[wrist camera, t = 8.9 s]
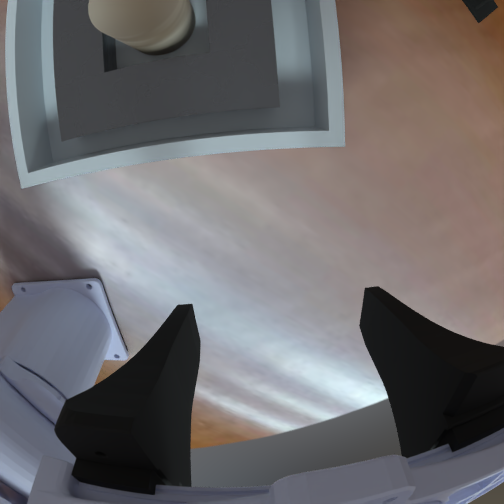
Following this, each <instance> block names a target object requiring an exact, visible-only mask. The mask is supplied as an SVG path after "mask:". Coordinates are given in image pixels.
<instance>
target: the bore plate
mask: <svg viewBox="0 0 504 504" xmlns="http://www.w3.org/2000/svg"><path fill="white" fill-rule="evenodd" d="M88 4H89V0H54V4H53V61H54V78H55V91H56V102H57V111H58V119H59V127H60V134H61V141H66V140H69V139H73V138H77V137H81V136H84V135H88V134H92V133H97V132H101V131H105V130H110V129H114V128H119V127H124V126H129V125H134V124H139V123H144V122H150V121H155V120H161V119H168V118H174V117H181V116H188V115H196V114H204V113H212V112H222V111H232V110H244V109H258V108H277V107H280V102H279V88H278V74H277V61H276V49H275V38H274V27H273V16H272V6H271V0H206V6H207V20H208V34H209V47H210V52H206V53H198V54H191V55H184V56H178V57H172V58H166V59H161V60H156V61H151V62H146V63H141V64H137V65H132V66H128V67H124V68H120V69H117V60H116V43H115V38H113V37H111V36H109V35H106V34H104V33H102V32H101V31H99V30H98V29H97V28H96V27H95V26H94V25H93V24H92V22H91V20H90V17H89V13H88Z"/></svg>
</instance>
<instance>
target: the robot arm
mask: <svg viewBox="0 0 504 504" xmlns="http://www.w3.org/2000/svg"><path fill="white" fill-rule="evenodd" d="M88 284H90V285H91V286H92V287H90V286H89V285H88ZM24 288H25V289H24ZM12 291H13V293H14V295H15V296H14V298H13V299H12V300H11V301H10V302H9V303H8V304H7V306H6V307H5V308H4V309H3V310H2V311H1V313H0V504H467V503H469V502H471V501H473V500H474V499H476V498H478V497H480V496H481V495H483V494H485V493H486V492H488V491H490V490H491V489H493V488H495V487H496V486H498V485H499V484H501V483H502V482H504V347H501V346H496V345H491V344H487V343H483V342H480V341H476V340H473V339H470V338H467V337H465V336H462V335H459V334H457V333H454V332H452V331H450V330H448V329H446V328H444V327H442V326H440V325H438V324H436V323H434V322H432V321H430V320H429V319H427V318H425V317H424V316H422V315H420V314H419V313H417V312H415V311H414V310H412V309H411V308H409V307H408V306H406V305H405V304H403V303H402V302H401V301H399V300H398V299H396V298H395V297H393V296H392V295H390V294H389V293H388V292H386V291H385V290H383V289H381V288H380V287H378V286H377V287H369V288H365V291H364V299H363V306H362V312H361V319H360V325H359V326H360V329H361V332H362V336H363V339H364V342H365V345H366V347H367V349H368V351H369V354H370V356H371V358H372V360H373V362H374V364H375V366H376V369H377V371H378V373H379V375H380V377H381V379H382V381H383V384H384V386H385V389H386V391H387V395H388V398H389V401H390V404H391V408H392V412H393V415H394V419H395V423H396V427H397V432H398V437H399V442H400V447H401V454H402V456H399V455H389V456H383V457H378V458H374V459H370V460H366V461H362V462H358V463H353V464H349V465H344V466H339V467H333V468H328V469H322V470H316V471H309V472H303V473H299V474H294V475H289V476H286V477H284V478H282V479H280V480H277V481H276V482H275V483H273V485H266V486H252V487H222V488H221V487H216V488H215V487H191V462H190V441H191V413H192V404H193V398H194V392H195V386H196V381H197V375H198V369H199V363H200V342H201V341H200V337H199V332H198V328H197V324H196V319H195V315H194V310H193V305H192V304H183V305H177V306H176V308H175V309H174V310H173V311H172V313H171V314H170V315H169V317H168V318H167V319H166V321H165V322H164V323H163V324H162V326H161V327H160V328H159V329H158V331H157V332H156V333H155V334H154V336H153V337H152V338H151V339H150V340H149V341H148V342H147V343H146V345H145V346H144V347H143V348H142V349H141V350H140V351H139V352H138V353H137V354H136V355H135V356H134V357H133V358H131V359H130V360H129V361H128V362H127V363H126V364H125V365H123V366H122V367H121V368H119V369H118V370H117V371H115V372H114V373H113V374H111V375H110V376H109V377H107V378H106V379H104V380H103V381H101V382H100V383H98V384H96V385H95V386H94V383H95V381H96V378H97V376H98V373H99V371H100V369H101V366H102V364H103V361H104V360H127V359H128V356H129V354H128V352H127V349H126V347H125V344H124V342H123V340H122V337H121V335H120V332H119V329H118V327H117V324H116V322H115V319H114V316H113V314H112V311H111V308H110V305H109V303H108V300H107V297H106V294H105V291H104V288H103V285H102V283H101V281H100V280H99V279H97V278H88V279H73V280H57V281H40V282H23V283H14V284H13V285H12ZM117 354H118V355H117Z"/></svg>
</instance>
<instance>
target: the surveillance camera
mask: <svg viewBox="0 0 504 504" xmlns="http://www.w3.org/2000/svg"><path fill="white" fill-rule="evenodd" d="M462 1H463V2H464V3H465V5H466V6H467V7H468V9H469V10H470V12H471V13H472V15H473V16H474V17H475V19H476V20H477V22H478V23H479V22H481V21H482V20H483V19H484V18H486V17H487V16H488V15H489V14H490V13H492V12H493V11H494V10H495V9H496V8H497V7H498V6H497V5H496V3H495V2H494V0H462Z"/></svg>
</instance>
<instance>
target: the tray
mask: <svg viewBox="0 0 504 504" xmlns="http://www.w3.org/2000/svg"><path fill="white" fill-rule="evenodd" d="M189 1H190V3H191V6H192V8H193V10H194V12H195V17H196V23H195V28H194V31H193V33H192V35H191V37H190V38H189V39H188V41H187V42H186V43H185V44H184V45H182V46H181V47H180V48H178V49H177V50H175V51H173V52H170V53H168V54H164V55H148V54H144V53H142V52H140V51H138V50H136V49H134V48H132V47H130V46H128V45H126V44H125V43H123V42H121V41H119V40H117V39H115V43H116V60H117V69H120V68H124V67H128V66H132V65H137V64H141V63H146V62H151V61H156V60H161V59H166V58H172V57H178V56H184V55H191V54H198V53H206V52H210V47H209V34H208V20H207V6H206V0H189ZM53 4H54V0H8V7H7V20H6V45H5V61H6V87H7V101H8V111H9V120H10V128H11V136H12V142H13V149H14V155H15V160H16V165H17V170H18V175H19V180H20V185H21V189H23V188H27V187H31V186H35V185H39V184H43V183H47V182H51V181H55V180H59V179H64V178H68V177H73V176H77V175H82V174H87V173H92V172H97V171H102V170H107V169H112V168H118V167H123V166H129V165H135V164H141V163H148V162H154V161H161V160H168V159H175V158H183V157H191V156H199V155H208V154H218V153H228V152H239V151H252V150H266V149H282V148H304V147H345V124H344V97H343V79H342V64H341V52H340V41H339V30H338V21H337V12H336V4H335V0H271V6H272V16H273V27H274V38H275V49H276V61H277V74H278V88H279V102H280V107H277V108H258V109H244V110H232V111H222V112H212V113H204V114H196V115H188V116H181V117H174V118H168V119H161V120H155V121H150V122H144V123H139V124H134V125H129V126H124V127H119V128H114V129H110V130H105V131H101V132H97V133H92V134H88V135H84V136H81V137H77V138H73V139H69V140H66V141H61V134H60V127H59V119H58V111H57V102H56V91H55V78H54V61H53Z"/></svg>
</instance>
